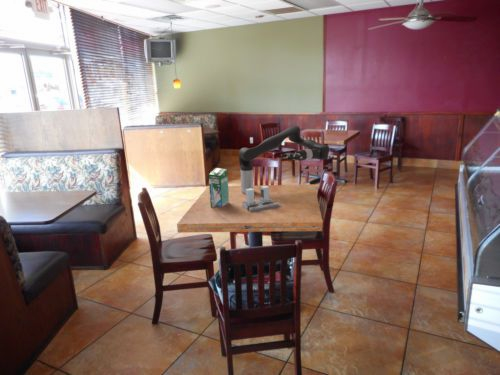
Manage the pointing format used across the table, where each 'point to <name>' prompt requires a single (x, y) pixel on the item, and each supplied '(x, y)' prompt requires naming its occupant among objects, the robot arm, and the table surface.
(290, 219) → the table surface
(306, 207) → the table surface
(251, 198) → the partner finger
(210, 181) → the milk carton
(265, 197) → the loose finger
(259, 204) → the rail board
